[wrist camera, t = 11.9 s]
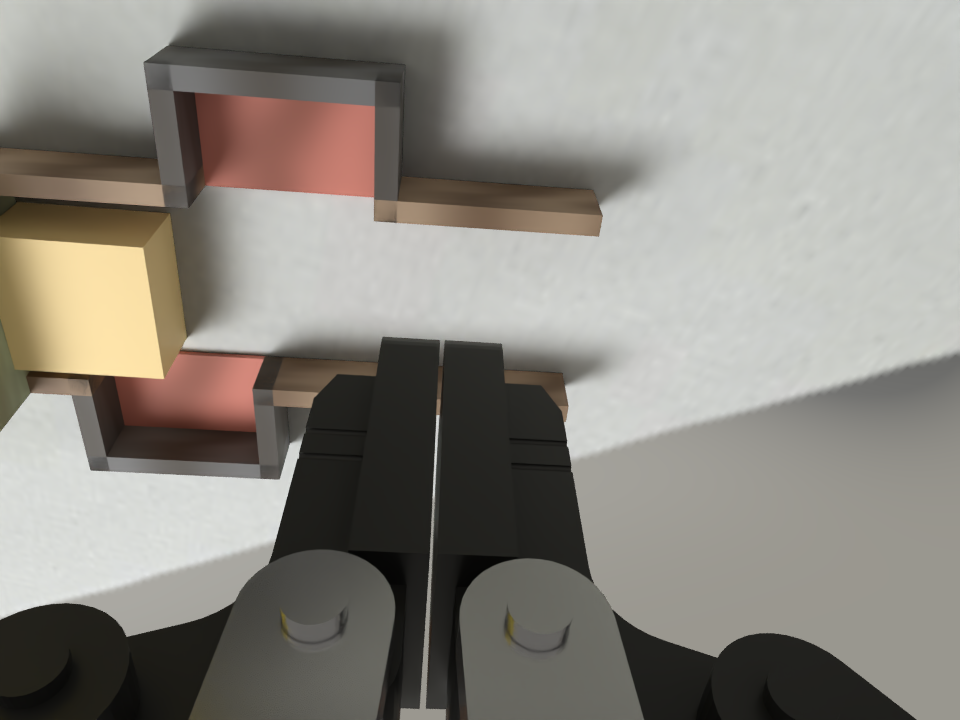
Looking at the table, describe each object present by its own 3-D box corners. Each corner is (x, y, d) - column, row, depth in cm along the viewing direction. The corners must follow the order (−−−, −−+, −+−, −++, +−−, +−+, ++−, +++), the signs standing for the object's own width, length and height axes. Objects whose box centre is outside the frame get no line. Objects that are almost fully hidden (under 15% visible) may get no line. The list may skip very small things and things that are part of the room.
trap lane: (611, 81, 34) (642, 131, 29) (548, 457, 46) (560, 546, 40) (-54, 27, 33) (-166, 69, 27) (57, 432, 45) (-5, 521, 39)
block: (171, 211, 38) (142, 247, 34) (188, 335, 42) (164, 378, 38) (20, 199, 37) (-24, 235, 34) (51, 326, 41) (14, 369, 38)
